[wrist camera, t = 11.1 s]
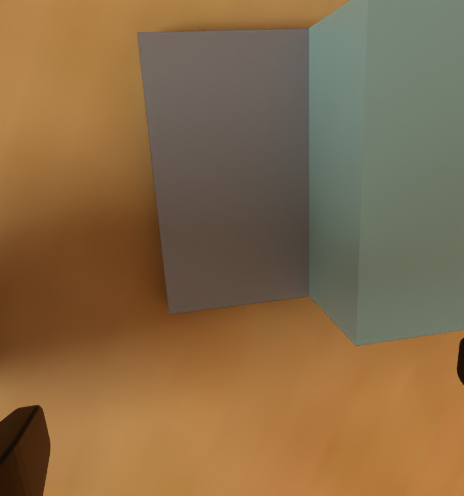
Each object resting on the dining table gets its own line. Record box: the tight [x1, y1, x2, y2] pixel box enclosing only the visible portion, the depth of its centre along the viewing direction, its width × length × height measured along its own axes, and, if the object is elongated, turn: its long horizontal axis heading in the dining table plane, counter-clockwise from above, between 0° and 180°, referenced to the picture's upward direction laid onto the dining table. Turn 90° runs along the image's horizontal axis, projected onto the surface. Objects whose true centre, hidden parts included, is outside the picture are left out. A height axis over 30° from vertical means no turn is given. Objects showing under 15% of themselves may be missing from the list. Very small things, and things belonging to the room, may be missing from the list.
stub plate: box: [137, 28, 309, 314], centre depth 18 cm, size 20×12×4 cm, turn 93°
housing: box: [309, 0, 464, 346], centre depth 17 cm, size 6×12×5 cm, turn 3°
